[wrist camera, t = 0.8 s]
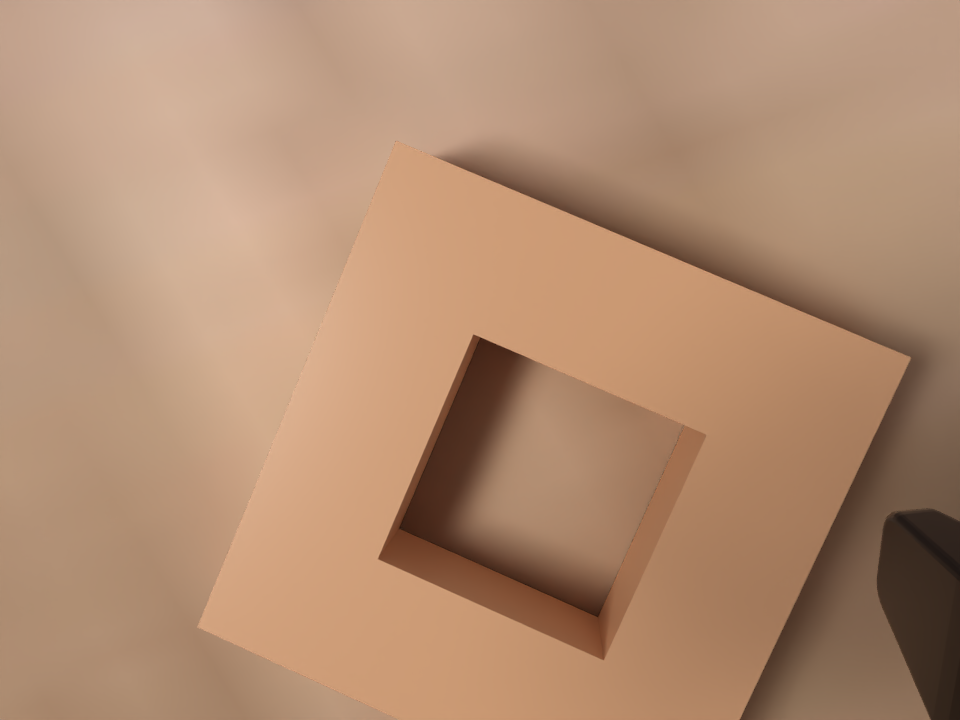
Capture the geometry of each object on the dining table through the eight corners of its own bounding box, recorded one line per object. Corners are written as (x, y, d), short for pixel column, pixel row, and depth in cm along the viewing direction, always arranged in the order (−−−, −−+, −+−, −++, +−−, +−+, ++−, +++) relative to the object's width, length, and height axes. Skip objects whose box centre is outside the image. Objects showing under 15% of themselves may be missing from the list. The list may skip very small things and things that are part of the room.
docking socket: (663, 782, 25) (679, 848, 22) (239, 589, 25) (197, 626, 22) (866, 350, 24) (911, 357, 21) (415, 160, 24) (396, 140, 21)
